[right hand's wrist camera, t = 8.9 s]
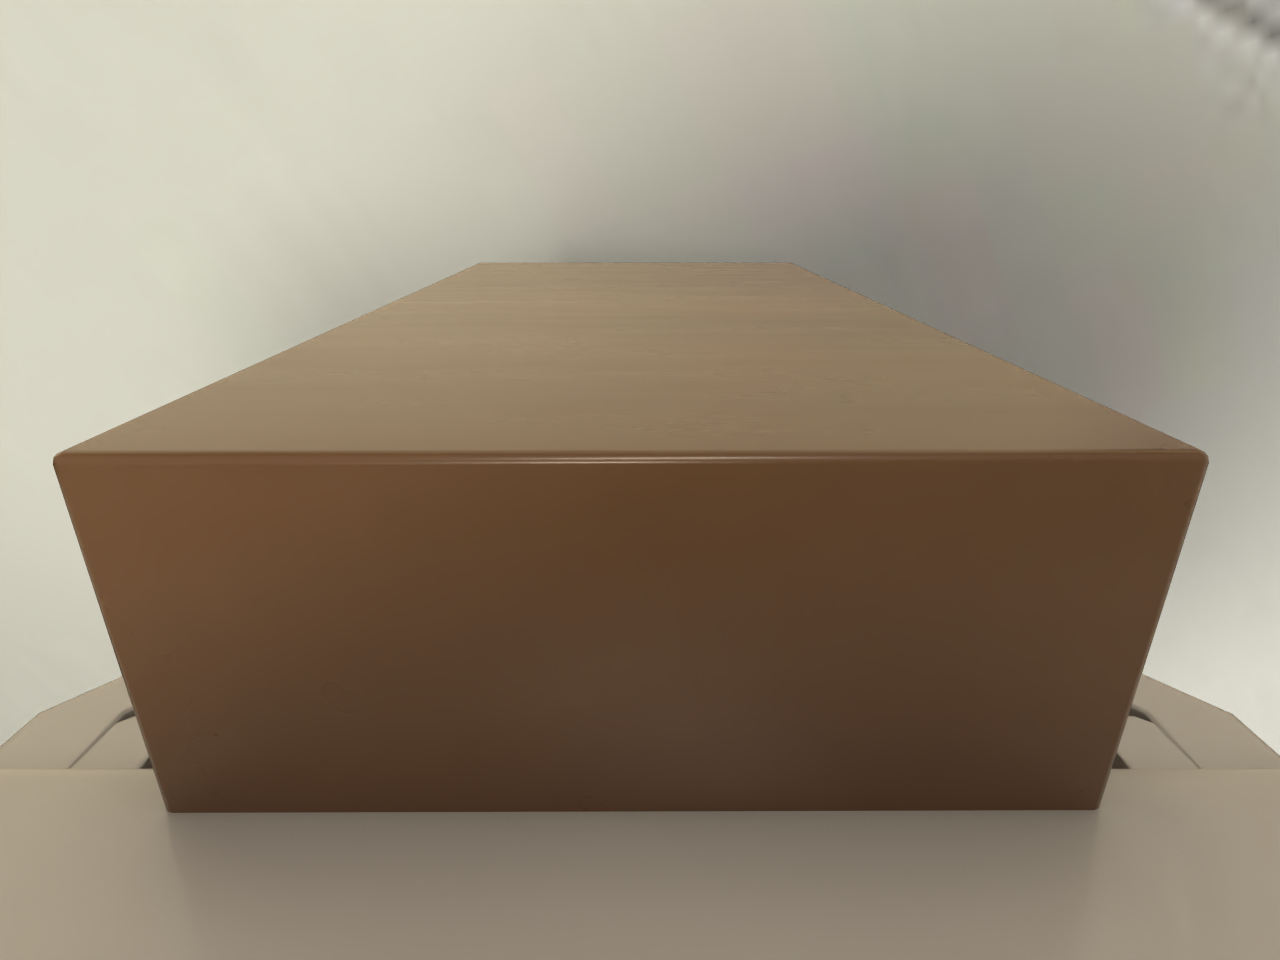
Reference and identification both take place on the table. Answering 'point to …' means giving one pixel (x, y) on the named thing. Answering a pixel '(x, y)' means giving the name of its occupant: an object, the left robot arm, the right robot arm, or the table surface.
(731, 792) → the box
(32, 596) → the table surface
